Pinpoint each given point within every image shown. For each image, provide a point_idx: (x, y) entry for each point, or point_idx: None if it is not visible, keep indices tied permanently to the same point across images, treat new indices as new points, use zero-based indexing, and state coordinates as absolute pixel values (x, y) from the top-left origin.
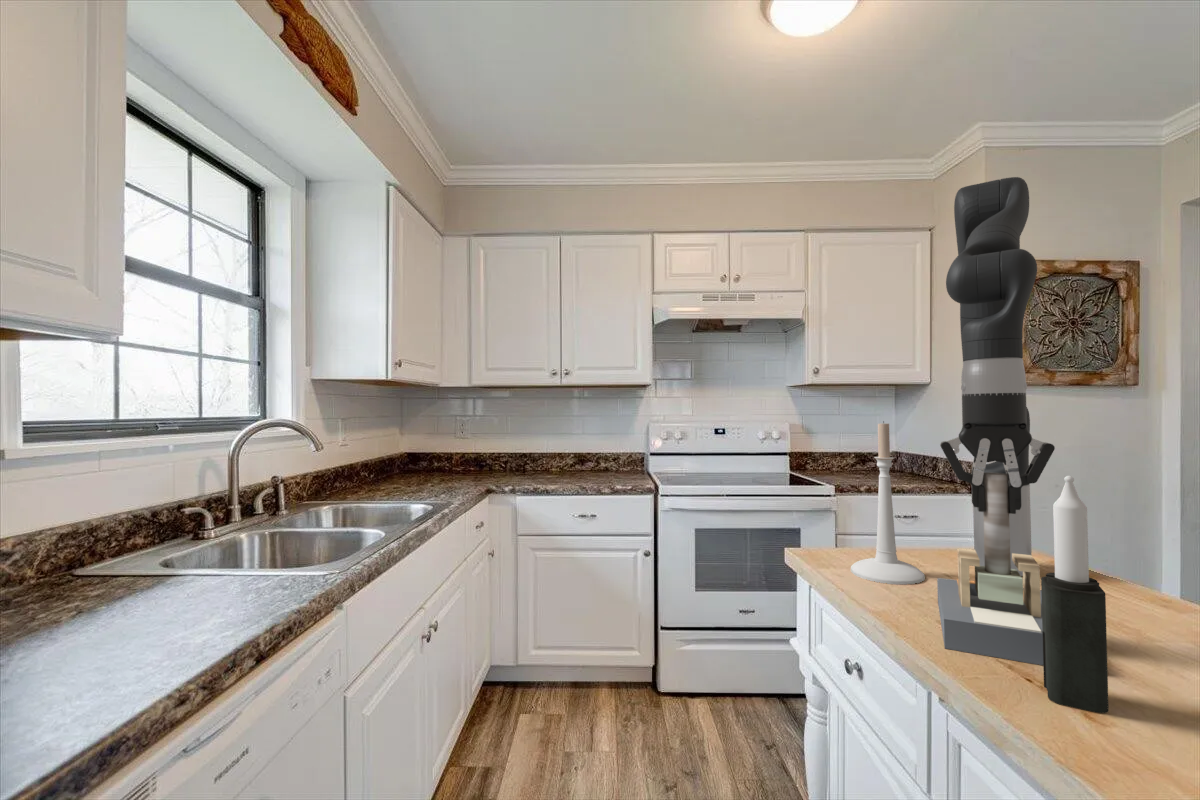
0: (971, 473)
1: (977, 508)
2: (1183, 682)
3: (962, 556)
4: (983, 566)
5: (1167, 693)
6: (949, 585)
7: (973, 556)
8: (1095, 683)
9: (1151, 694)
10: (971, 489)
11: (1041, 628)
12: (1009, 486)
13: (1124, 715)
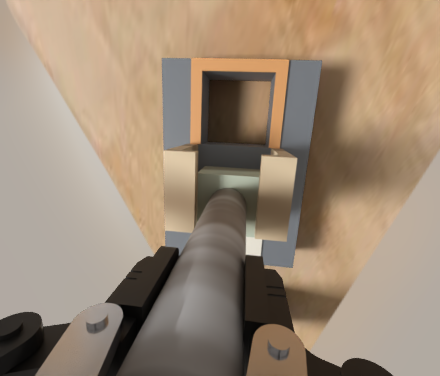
0: (54, 352)
1: (162, 246)
2: (376, 238)
3: (168, 219)
4: (210, 178)
5: (346, 267)
6: (178, 101)
7: (186, 213)
8: None
9: (330, 274)
10: (111, 296)
11: (263, 248)
12: (248, 354)
13: None
